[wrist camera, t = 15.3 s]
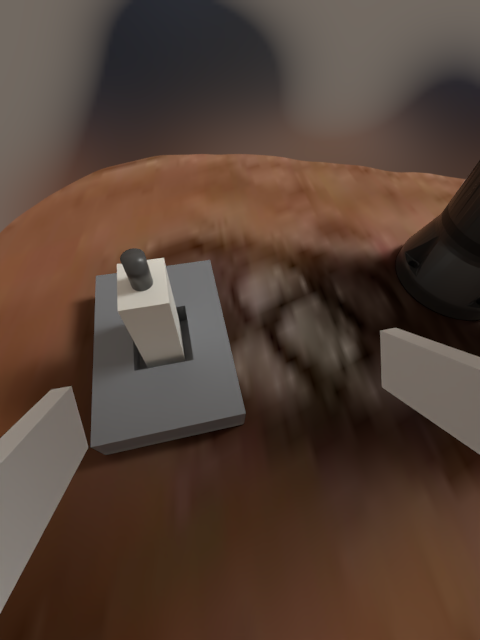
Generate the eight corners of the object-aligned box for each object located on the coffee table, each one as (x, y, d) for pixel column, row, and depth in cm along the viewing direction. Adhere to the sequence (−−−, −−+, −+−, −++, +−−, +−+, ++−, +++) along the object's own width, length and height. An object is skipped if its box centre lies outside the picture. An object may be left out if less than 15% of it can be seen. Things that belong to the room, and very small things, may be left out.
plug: (181, 328, 37) (157, 231, 25) (186, 365, 35) (162, 278, 22) (147, 333, 37) (105, 237, 24) (150, 372, 34) (104, 286, 21)
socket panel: (211, 280, 43) (209, 260, 39) (243, 424, 32) (245, 413, 29) (106, 295, 41) (96, 276, 37) (105, 455, 30) (90, 447, 27)
